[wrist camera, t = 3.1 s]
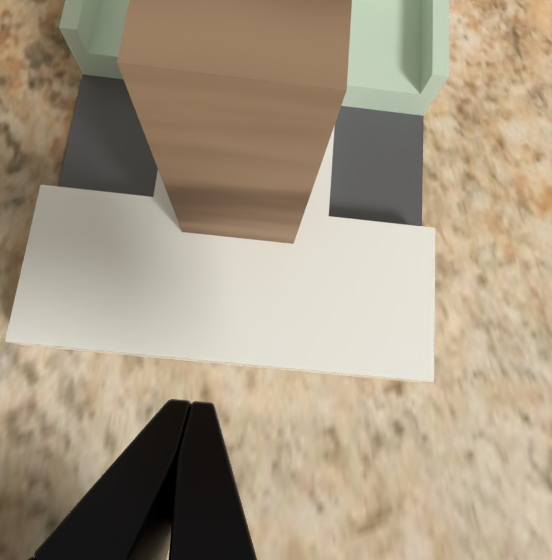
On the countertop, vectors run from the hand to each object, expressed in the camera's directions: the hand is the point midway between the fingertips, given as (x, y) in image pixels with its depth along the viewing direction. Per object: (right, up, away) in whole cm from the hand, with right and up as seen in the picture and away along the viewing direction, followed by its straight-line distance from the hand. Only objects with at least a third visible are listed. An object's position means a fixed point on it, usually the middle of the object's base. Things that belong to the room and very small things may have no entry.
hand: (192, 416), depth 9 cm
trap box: (0, +10, +15) cm, 19 cm away
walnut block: (0, +7, +12) cm, 14 cm away
